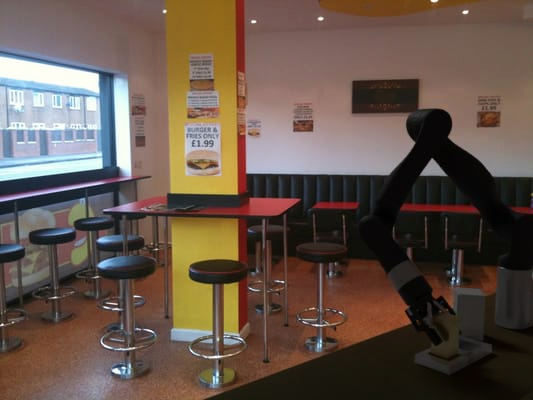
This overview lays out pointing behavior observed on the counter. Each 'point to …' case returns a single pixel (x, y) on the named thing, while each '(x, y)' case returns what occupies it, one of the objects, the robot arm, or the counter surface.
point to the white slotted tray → (466, 355)
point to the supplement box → (470, 311)
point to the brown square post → (446, 335)
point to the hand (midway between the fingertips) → (449, 340)
